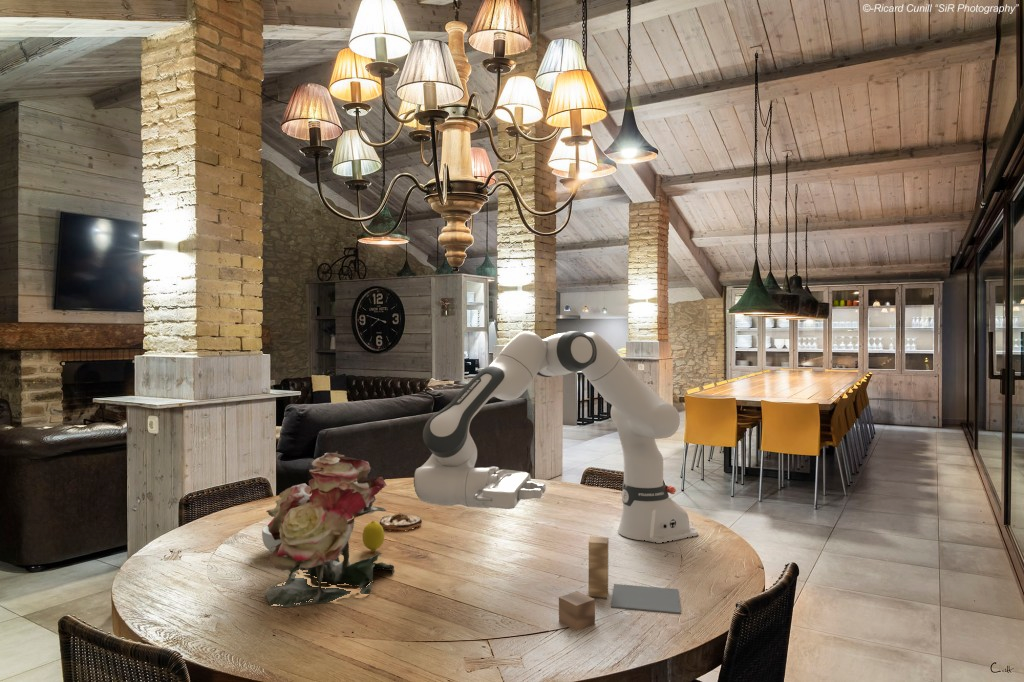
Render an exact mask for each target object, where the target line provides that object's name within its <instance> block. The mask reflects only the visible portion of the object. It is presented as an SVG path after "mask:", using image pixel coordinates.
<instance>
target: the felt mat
mask: <svg viewBox="0 0 1024 682" xmlns="http://www.w3.org/2000/svg"><path fill="white" fill-rule="evenodd" d="M679 596H680V595H679V589H678V588H668V587H657V586H656V587H654V586H647V585H646V586H645V585H634V584H633V585H631V584H622V583H621V584H620V583H619V584H618V583H614V584H613V589H612V597H611V603H610V605H611V606H610V608H614V609H623V610H624V609H625V610H634V611H645V612H658V613H659V612H660V613H668V614H676V615H677V614H679V615H681V614H682V613H681V612H682V611H681V605H680V597H679Z"/></svg>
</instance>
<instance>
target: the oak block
mask: <svg viewBox="0 0 1024 682" xmlns="http://www.w3.org/2000/svg"><path fill="white" fill-rule="evenodd" d="M588 540H589V541H588V594H587V596H589V597H592V598H594V599H600V600H608V597H609V537H603V536H591V535H590V536H589V539H588Z"/></svg>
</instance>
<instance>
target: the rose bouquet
mask: <svg viewBox="0 0 1024 682" xmlns="http://www.w3.org/2000/svg"><path fill="white" fill-rule="evenodd" d="M311 465H312V466H313V467H316V468H314V469H309V473H310V475H311V477H313V478H311V479H309V480H308V485H307V484H306V483H300V484H295V485H292V486H291V487H287V488H285V490H283V491H281V492H280V493H279V495H278V497H279V498H280V499H277V500H275V501H274V502H275V503H276V505H275V507H274V508H271V509H268V510H266V513H268V515H269V516H271V518H272V517H273V518H272V519H271V521H270V522H269V523H268V524H267V525H268V531H269V532H270V533H271V534H272V536H273V538H274V540H280V539H281V540H282V543H280V544H279V545H277V546H273V547H276V549H275V550H274V551H273V552H271V554H270V556H269V559H270V560H269V561H270V563H269V564H270V565H271V566H273V568H275V569H277V570H279V571H287V570H288V571H289V573H290V574H288V577H287V579H286V580H284V581H282V582H283V583H284V582H286V583H285V585H283V584H282V586H276V587H275V585H274V586H273V587H271V588H270V589H269V590H267V591H266V592H265V593H264V594H265V596H266V599H267V601H268V603H269V606H270V607H272V606H271V605H273V604H277V605H279V604H280V606H279V607H281V608H286V607H287V608H290V607H291V608H292V607H300V606H305V605H306V606H307V605H313V604H327V603H326V602H330V601H333V600H335V599H337V598H339V597H342V596H344V595H347V594H350V592H351V591H346V590H344V589H339V588H326V589H325V588H321V586H322V583H321V582H327V583H326V584H331V585H337V584H344V583H346V584H349V585H352V586H351V587H358V586H357V585H359V587H358V588H360V589H361V588H362V589H361V591H360V593H361V594H371V588H372V586H373V583H375V582H374V571H375V570H385V571H386V570H391V571H392V574H394V572H395V566H394V565H392V564H386V563H384V562H378V563H376V562H377V561H378V558H379V557H380V555H382V553H381V552H378V553H377V554H376V555H373V556H371V557H367V558H364V559H361V560H357V561H356V562H354V563H351V562H350V560H349V559H350V549H349V548H350V544H349V541H350V538H351V535H352V533H353V531H354V526H355V519H356V518H358V517H361V516H364V515H369V514H370V515H371V514H373V513H375V512H387V508H385V507H383V506H382V507H380V506H373V504H374V503H375V502H376V495H377V494H378V493H379V492H380V491H382V490H383V489H384V488H385V487H387V486H388V484H387V483H386V481H385V479H384V478H383V477H382V476H377V477H371V478H370V479H369V478H368V477H369V476H368V474H369V473H370V472H371V469H372V467H371V466H370V463H369V461H365V460H363V459H356V458H354V457H348V456H346V455H345V454H341V453H340V454H339V453H338V452H326V453H324V455H322V456H320V457H317V458H315V459H314V460H313V461H312V462H311ZM399 511H400V509H399ZM273 547H271V548H273ZM284 555H286V556H287V557H284ZM340 556H343V560H342V561H341V562H340V558H339V557H340ZM299 569H300V570H302V571H303V570H308V572H303V573H306V574H310V575H311V576H315V577H317V578H315V582H316V581H318V582H319V583H318V586H319V587H312V586H310V585H308V584H307V579H304V578H295V576H296V574H294V573H296V571H297V570H299ZM311 576H310V577H311ZM372 581H373V582H372ZM370 582H371V583H370ZM369 583H370V585H368V584H369ZM355 585H356V586H355ZM367 585H368V586H367ZM337 586H338V585H337ZM366 586H367V587H366ZM310 599H313V600H310ZM309 600H310V601H312V602H310V601H309ZM306 601H307V602H306ZM308 601H309V602H308ZM300 602H301V603H300ZM294 603H295V604H294ZM296 603H300V605H299V604H297V605H296ZM281 605H283V606H281ZM279 607H278V608H279Z"/></svg>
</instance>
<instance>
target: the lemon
mask: <svg viewBox="0 0 1024 682" xmlns="http://www.w3.org/2000/svg"><path fill="white" fill-rule="evenodd" d="M384 539H385V531H384V529H383V527H382V526H381V525H380V522H377V521H375V520H372V521H370V522H369V523H367V524H366V525H365V527H364V528H363V531H362V542H363V545H364V547H366V549H368V550H370V551H371V552H373V551H374V552H375V551H376V550H377V549H379V548H381V546H382V545H383V544H384V541H385V540H384Z"/></svg>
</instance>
